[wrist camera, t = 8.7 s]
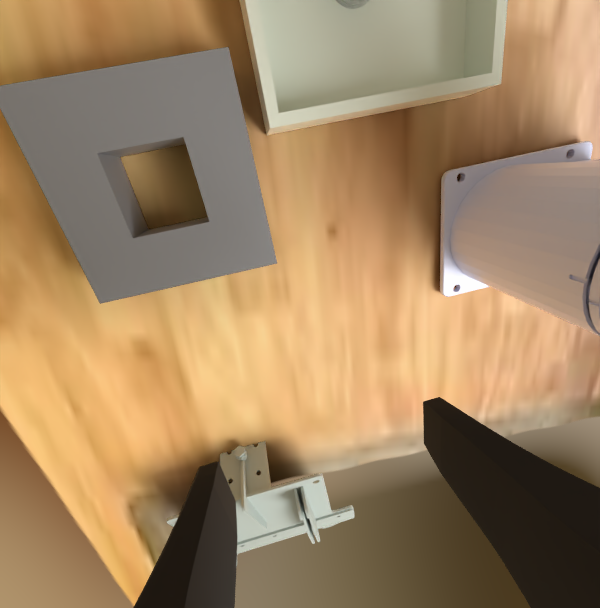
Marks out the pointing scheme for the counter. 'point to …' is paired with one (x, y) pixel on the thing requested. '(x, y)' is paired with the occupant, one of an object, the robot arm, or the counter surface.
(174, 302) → the counter surface
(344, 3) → the steel pin
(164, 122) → the pin block
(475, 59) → the tray
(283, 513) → the metal bracket
